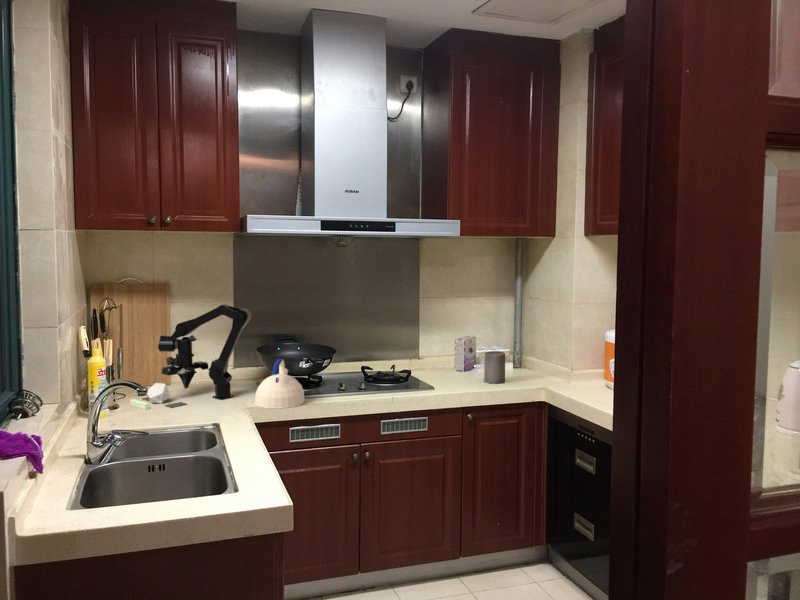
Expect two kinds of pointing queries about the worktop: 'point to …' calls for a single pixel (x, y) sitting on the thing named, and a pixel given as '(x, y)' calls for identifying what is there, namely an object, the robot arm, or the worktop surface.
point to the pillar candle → (494, 367)
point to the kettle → (279, 389)
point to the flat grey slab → (146, 405)
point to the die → (158, 393)
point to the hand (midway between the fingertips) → (186, 388)
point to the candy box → (465, 353)
